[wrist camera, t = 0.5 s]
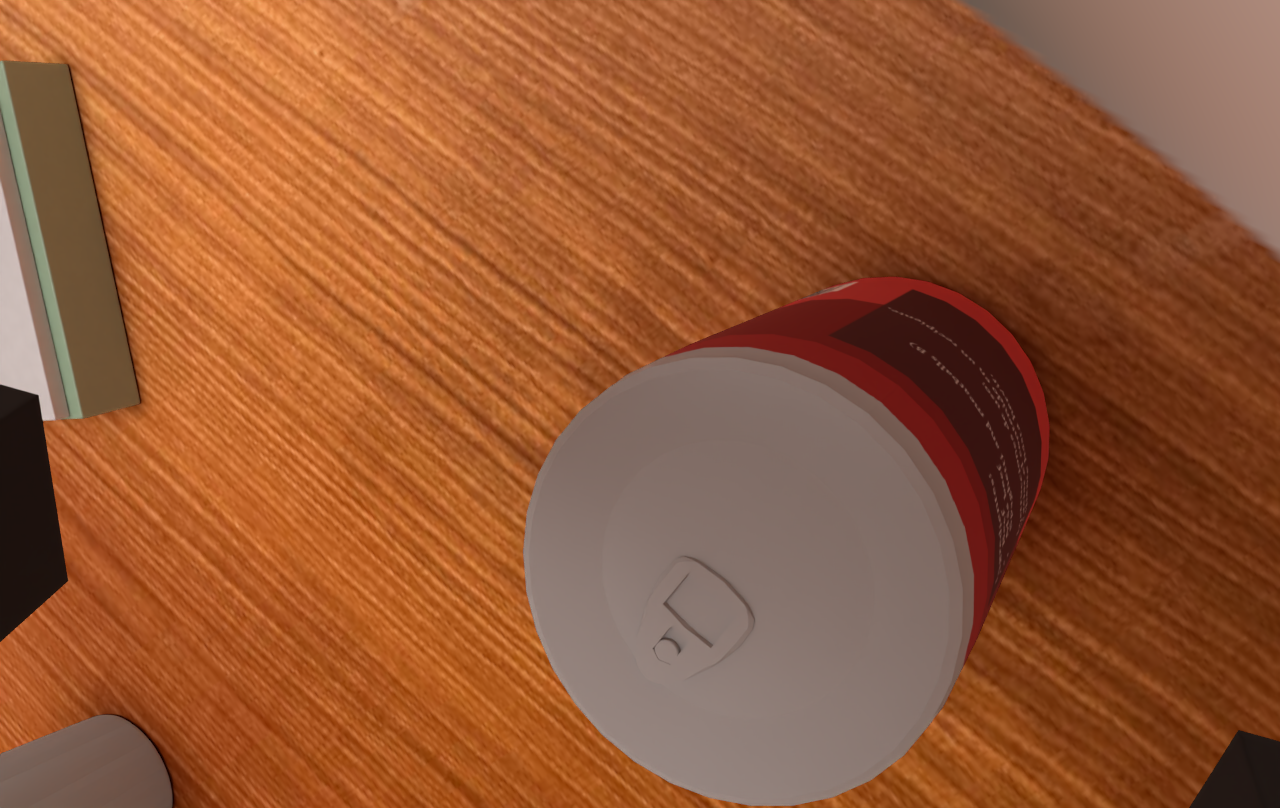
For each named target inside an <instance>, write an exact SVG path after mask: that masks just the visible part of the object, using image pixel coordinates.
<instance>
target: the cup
mask: <svg viewBox="0 0 1280 808" xmlns="http://www.w3.org/2000/svg"><path fill="white" fill-rule="evenodd" d="M172 802H173V799H172V789H171V783H170V779H169V776H168V773H167V770H166V768H165V766H164V763H163V761H162V759H161V757H160V755H159V753H158V752H157V750H156V749H155V747H154V746H153V744H152V743H151V741H150V740H149V739H148V738H147V737H146V736H145V735H144V734H143V733H142V732H141V731H140V730H139V729H138V728H137V727H136V726H134V725H133V724H132V723H130V722H129V721H127V720H125V719H123V718H121V717H119V716H115V715H98V716H95V717H92V718H89V719H87V720H84V721H81V722H79V723H76V724H74V725H71V726H69V727H66V728H64V729H61V730H59V731H56V732H54V733H51V734H49V735H46V736H44V737H41V738H39V739H36V740H34V741H31V742H29V743H26V744H24V745H21V746H19V747H16V748H14V749H11V750H9V751H6V752H4V753H1V754H0V808H172Z"/></svg>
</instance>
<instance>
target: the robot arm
mask: <svg viewBox="0 0 1280 808" xmlns="http://www.w3.org/2000/svg"><path fill="white" fill-rule="evenodd" d="M67 581H68V578H67V572H66V565H65V559H64V553H63V546H62V540H61V534H60V527H59V521H58V515H57V508H56V502H55V496H54V489H53V483H52V477H51V471H50V464H49V458H48V452H47V445H46V439H45V433H44V426H43V420H42V414H41V407H40V401H39V395H37V394H33V393H30V392H26V391H22V390H19V389H15V388H12V387H8V386H4V385H1V384H0V642H1V641H2V640H3V639H4V638H5V637H6V636H7V635H8V634H10V633H11V632H12V631H13V630H14V629H15V628H16V627H17V626H18V625H20V624H21V623H22V622H23V621H24V620H25V619H26V618H27V617H28V616H30V615H31V614H32V613H33V612H34V611H35V610H36V609H37V608H38V607H40V606H41V605H42V604H43V603H44V602H45V601H46V600H47V599H48V598H50V597H51V596H52V595H53V594H54V593H55V592H56V591H57V590H58V589H60V588H61V587H62V586H63V585H64V584H65V583H66V582H67ZM1190 808H1280V742H1279V741H1276V740H1272V739H1269V738H1265V737H1261V736H1258V735H1254V734H1251V733H1247V732H1243V731H1240V730H1238V732H1237V733H1236V735H1235V736H1234V738H1233V740H1232V741H1231V743H1230V744H1229V746H1228V748H1227V749H1226V751H1225V752H1224V754H1223V755H1222V757H1221V759H1220V760H1219V762H1218V763H1217V765H1216V767H1215V768H1214V770H1213V771H1212V773H1211V774H1210V776H1209V778H1208V779H1207V781H1206V782H1205V784H1204V785H1203V787H1202V789H1201V790H1200V792H1199V793H1198V795H1197V797H1196V798H1195V800H1194V801H1193V803H1192V804H1191V806H1190Z"/></svg>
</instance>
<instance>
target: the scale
mask: <svg viewBox="0 0 1280 808" xmlns="http://www.w3.org/2000/svg"><path fill="white" fill-rule="evenodd" d="M0 384H1V385H4V386H8V387H12V388H15V389H19V390H22V391H26V392H30V393H33V394H37V395H39V401H40V407H41V414H42V420H43V421H49V420H59V419H84V418H88V417H92V416H95V415H99V414H103V413H107V412H111V411H115V410H118V409H122V408H126V407H130V406H134V405H138V404H140V399H139V394H138V389H137V385H136V380H135V375H134V371H133V366H132V361H131V357H130V352H129V347H128V343H127V338H126V333H125V329H124V324H123V320H122V315H121V310H120V306H119V301H118V296H117V292H116V287H115V282H114V278H113V273H112V268H111V264H110V259H109V254H108V250H107V245H106V240H105V236H104V231H103V226H102V222H101V217H100V212H99V208H98V203H97V198H96V194H95V189H94V184H93V180H92V175H91V170H90V166H89V161H88V156H87V152H86V147H85V142H84V138H83V133H82V128H81V124H80V119H79V114H78V110H77V105H76V100H75V96H74V91H73V86H72V82H71V77H70V72H69V68H68V65H67V64H55V63H38V62H20V61H0Z"/></svg>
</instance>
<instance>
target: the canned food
mask: <svg viewBox="0 0 1280 808" xmlns="http://www.w3.org/2000/svg"><path fill="white" fill-rule="evenodd" d="M1049 429H1050V425H1049V419H1048V414H1047V408H1046V403H1045V397H1044V392H1043V390H1042V387H1041V385H1040V383H1039V380H1038V378H1037V375H1036V373H1035V371H1034V368H1033V366H1032V363H1031V361H1030V360H1029V358H1028V357H1027V355H1026V354H1025V353H1024V351H1023V350H1022V348H1021V347H1020V345H1019V344H1018V342H1017V341H1016V339H1015V338H1014V337H1013V335H1012V334H1011V333H1010V332H1009V331H1008V330H1007V329H1006V328H1005V327H1004V326H1003V325H1002V324H1001V323H1000V322H999V321H998V320H997V319H995V318H994V317H993V316H992V315H991V314H990V313H989V312H988V311H987V310H985V309H984V308H982V307H981V306H979V305H977V304H976V303H974V302H972V301H971V300H969V299H968V298H966V297H964V296H963V295H961V294H960V293H957V292H955V291H952V290H949V289H947V288H944V287H941V286H939V285H936V284H933V283H930V282H927V281H921V280H915V279H908V278H902V277H875V278H862V279H858V280H854V281H850V282H846V283H842V284H838V285H834V286H831V287H829V288H826V289H824V290H821V291H819V292H816V293H814V294H812V295H809V296H807V297H804V298H802V299H799V300H797V301H795V302H792V303H790V304H787V305H785V306H782V307H780V308H778V309H775V310H773V311H770V312H768V313H765V314H763V315H760V316H758V317H756V318H753V319H751V320H748V321H746V322H743V323H741V324H739V325H736V326H734V327H731V328H729V329H726V330H724V331H722V332H719V333H717V334H714V335H712V336H709V337H707V338H705V339H702V340H700V341H697V342H695V343H692V344H690V345H688V346H686V347H684V348H682V349H679V350H677V351H675V352H673V353H671V354H669V355H667V356H665V357H663V358H661V359H659V360H656V361H654V362H652V363H650V364H648V365H646V366H644V367H642V368H640V369H638V370H636V371H634V372H631V373H629V374H627V375H626V376H624V377H623V378H622V379H620V380H619V381H618V382H617V383H615V384H614V385H612V386H611V387H609V388H608V389H607V390H606V391H604V392H603V393H602V394H600V395H599V396H598V397H597V398H595V399H594V400H593V401H592V402H590V403H589V404H588V405H586V406H585V407H584V408H583V409H581V410H580V412H579V413H578V414H577V415H576V416H575V418H574V419H573V420H572V421H571V423H570V424H569V425H568V426H567V427H566V429H565V430H564V431H563V432H562V433H561V435H560V436H559V437H558V438H557V440H556V441H555V443H554V445H553V447H552V449H551V451H550V453H549V455H548V456H547V458H546V460H545V462H544V464H543V466H542V468H541V470H540V472H539V474H538V476H537V480H536V483H535V487H534V490H533V494H532V497H531V500H530V504H529V507H528V511H527V518H526V528H525V539H524V549H523V555H524V567H525V579H526V592H527V596H528V600H529V603H530V607H531V611H532V615H533V619H534V623H535V627H536V631H537V633H538V636H539V638H540V640H541V643H542V645H543V647H544V649H545V652H546V654H547V656H548V659H549V661H550V663H551V666H552V668H553V670H554V671H555V673H556V674H557V676H558V678H559V679H560V681H561V682H562V684H563V685H564V687H565V689H566V690H567V692H568V693H569V695H570V696H571V698H572V700H573V701H574V703H575V704H576V705H577V706H578V708H579V709H580V710H581V711H582V712H583V713H584V714H585V716H586V717H587V718H588V719H589V720H590V721H591V722H592V723H593V725H594V726H595V727H596V728H597V729H598V730H599V731H600V733H601V734H602V735H603V736H604V737H606V738H607V739H608V740H609V741H610V742H612V743H613V744H614V745H615V746H616V747H618V748H619V749H620V750H621V751H622V752H624V753H625V754H626V755H627V756H629V757H630V758H631V759H632V760H633V761H635V762H636V763H638V764H640V765H641V766H643V767H645V768H646V769H648V770H650V771H651V772H653V773H655V774H656V775H658V776H660V777H662V778H663V779H665V780H667V781H668V782H670V783H672V784H675V785H677V786H680V787H683V788H685V789H688V790H691V791H693V792H696V793H698V794H701V795H704V796H706V797H709V798H713V799H718V800H723V801H729V802H734V803H739V804H745V805H750V806H793V805H798V804H803V803H807V802H812V801H817V800H822V799H827V798H832V797H834V796H837V795H839V794H841V793H843V792H846V791H848V790H850V789H852V788H855V787H857V786H859V785H861V784H864V783H866V782H868V781H870V780H872V779H873V778H874V777H876V776H877V775H878V774H880V773H881V772H882V771H884V770H885V769H886V768H888V767H889V766H890V765H892V764H893V763H894V762H896V761H897V760H898V759H900V758H901V757H902V756H904V755H905V753H906V752H907V751H908V750H909V749H910V747H911V746H912V745H913V744H914V743H915V741H916V740H917V739H918V738H919V737H920V735H921V734H922V733H923V732H924V731H925V729H926V728H927V727H928V726H929V725H930V723H931V722H932V720H933V719H934V717H935V716H936V715H937V714H938V713H939V711H940V710H941V709H942V708H943V706H944V704H945V702H946V700H947V698H948V696H949V694H950V692H951V690H952V688H953V686H954V684H955V682H956V680H957V678H958V676H959V674H960V672H961V670H962V668H963V666H964V664H965V662H966V660H967V658H968V656H969V654H970V652H971V650H972V648H973V646H974V644H975V642H976V640H977V638H978V635H979V633H980V631H981V628H982V626H983V624H984V621H985V619H986V617H987V614H988V612H989V610H990V607H991V605H992V602H993V600H994V598H995V595H996V593H997V591H998V588H999V586H1000V584H1001V581H1002V579H1003V577H1004V574H1005V572H1006V570H1007V567H1008V565H1009V563H1010V560H1011V558H1012V556H1013V553H1014V551H1015V549H1016V546H1017V544H1018V542H1019V539H1020V537H1021V534H1022V532H1023V530H1024V527H1025V525H1026V523H1027V520H1028V518H1029V516H1030V513H1031V511H1032V509H1033V506H1034V504H1035V502H1036V499H1037V497H1038V495H1039V492H1040V490H1041V486H1042V482H1043V478H1044V474H1045V470H1046V466H1047V462H1048V458H1049Z"/></svg>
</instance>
